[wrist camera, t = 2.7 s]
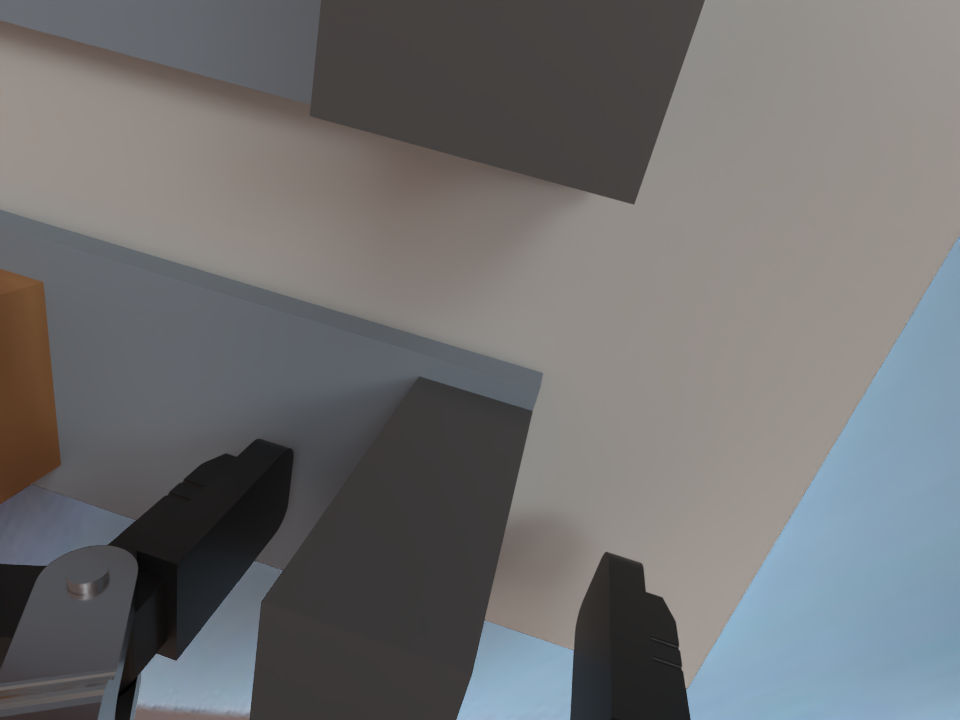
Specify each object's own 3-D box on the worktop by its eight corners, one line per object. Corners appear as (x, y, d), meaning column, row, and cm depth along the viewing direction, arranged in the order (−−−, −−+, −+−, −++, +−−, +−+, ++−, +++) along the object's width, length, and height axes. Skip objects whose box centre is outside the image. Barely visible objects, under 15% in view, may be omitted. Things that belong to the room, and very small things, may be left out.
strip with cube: (543, 372, 12) (482, 642, 6) (469, 606, 15) (376, 948, 9) (-199, 150, 13) (-875, 178, 7) (-133, 403, 16) (-575, 576, 10)
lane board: (1214, -274, 8) (1293, -323, 7) (682, 656, 16) (687, 688, 15) (-292, -558, 10) (-383, -628, 9) (-84, 399, 18) (-121, 414, 17)
